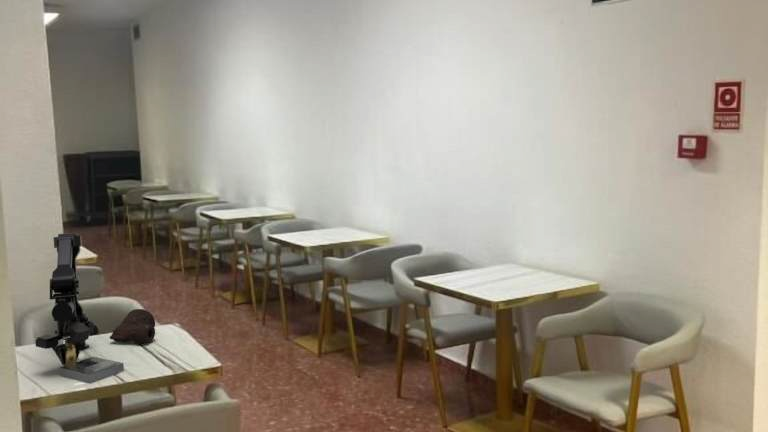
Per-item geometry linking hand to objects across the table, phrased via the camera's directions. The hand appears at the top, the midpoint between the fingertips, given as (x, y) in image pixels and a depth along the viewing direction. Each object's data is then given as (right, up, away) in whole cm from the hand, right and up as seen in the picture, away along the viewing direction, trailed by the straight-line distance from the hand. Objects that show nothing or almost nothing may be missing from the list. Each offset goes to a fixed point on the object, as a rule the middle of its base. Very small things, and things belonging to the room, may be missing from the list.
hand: (69, 362), depth 231 cm
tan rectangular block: (0, -1, 0) cm, 1 cm away
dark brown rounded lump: (+12, +2, +29) cm, 31 cm away
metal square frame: (+10, -2, -7) cm, 12 cm away
